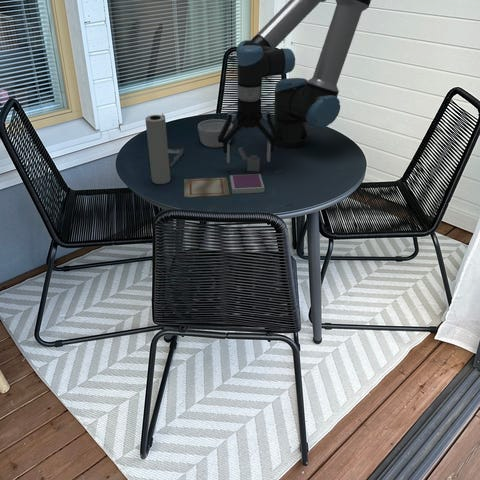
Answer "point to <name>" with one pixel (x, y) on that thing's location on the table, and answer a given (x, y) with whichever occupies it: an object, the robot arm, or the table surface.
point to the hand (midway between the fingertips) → (248, 160)
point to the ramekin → (212, 132)
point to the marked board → (206, 187)
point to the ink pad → (246, 184)
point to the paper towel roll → (158, 148)
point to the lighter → (250, 161)
